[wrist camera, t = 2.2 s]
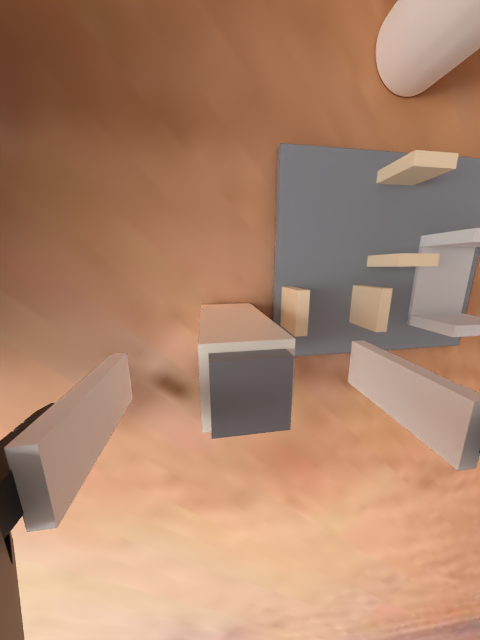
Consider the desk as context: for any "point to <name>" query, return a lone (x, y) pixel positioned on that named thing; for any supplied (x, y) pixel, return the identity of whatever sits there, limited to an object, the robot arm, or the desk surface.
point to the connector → (244, 371)
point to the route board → (375, 247)
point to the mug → (425, 42)
